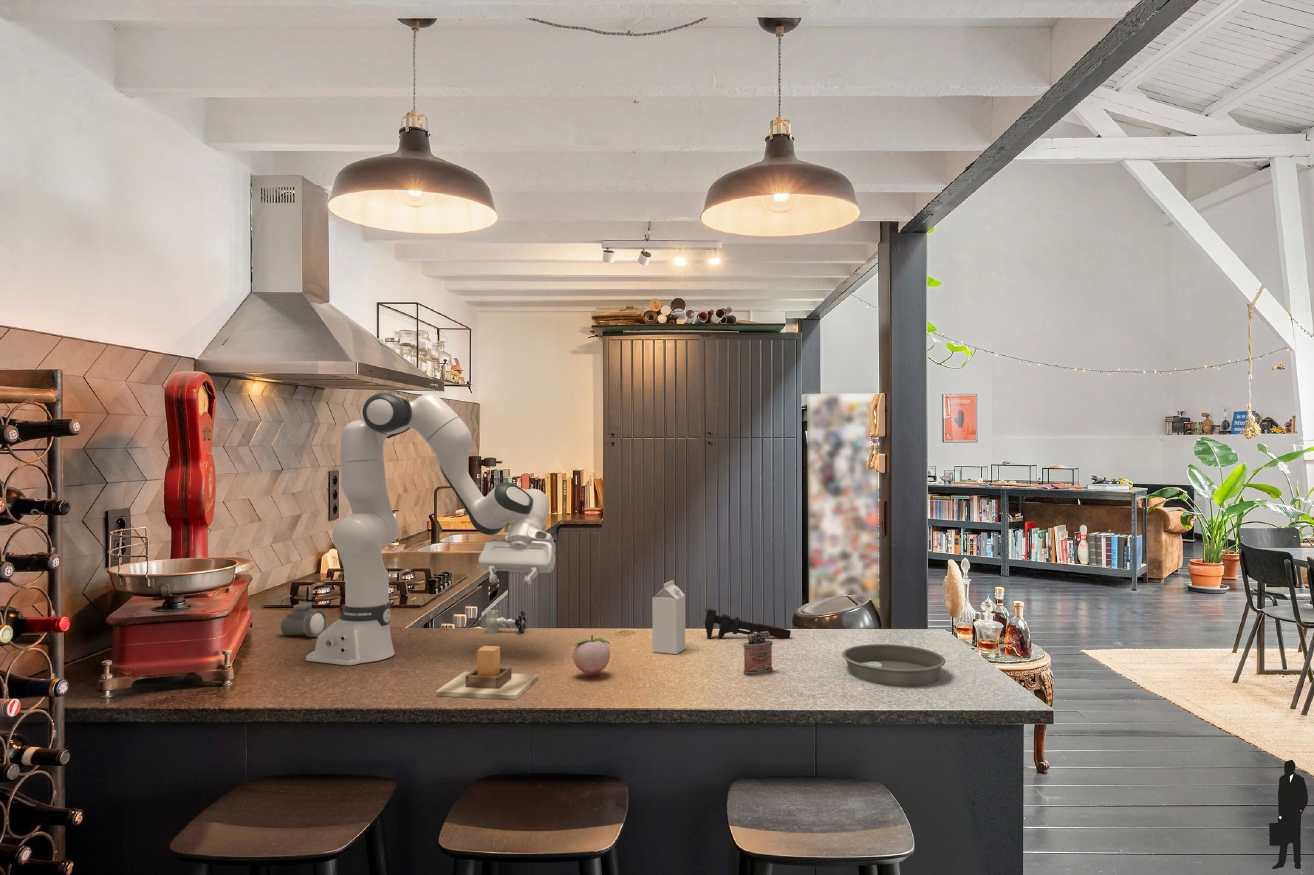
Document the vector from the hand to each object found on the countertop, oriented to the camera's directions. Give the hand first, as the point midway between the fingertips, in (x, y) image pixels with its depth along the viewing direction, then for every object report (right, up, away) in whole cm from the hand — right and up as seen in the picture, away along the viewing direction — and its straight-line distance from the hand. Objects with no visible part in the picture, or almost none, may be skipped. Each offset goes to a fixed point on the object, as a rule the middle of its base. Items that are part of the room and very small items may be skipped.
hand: (509, 582), depth 198 cm
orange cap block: (-1, -20, -19) cm, 27 cm away
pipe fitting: (-69, -23, +32) cm, 79 cm away
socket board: (-1, -21, -19) cm, 28 cm away
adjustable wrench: (+65, -22, +27) cm, 74 cm away
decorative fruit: (+23, -21, -11) cm, 33 cm away
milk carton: (+42, -22, +14) cm, 49 cm away
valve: (-8, -22, +36) cm, 43 cm away
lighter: (+63, -21, -8) cm, 67 cm away
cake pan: (+97, -21, -9) cm, 99 cm away
